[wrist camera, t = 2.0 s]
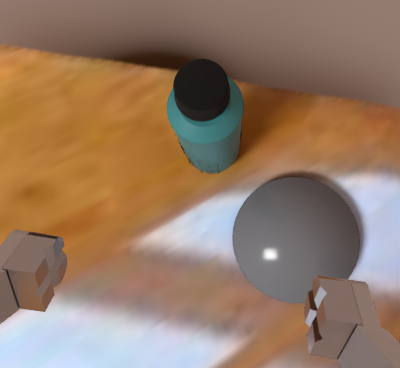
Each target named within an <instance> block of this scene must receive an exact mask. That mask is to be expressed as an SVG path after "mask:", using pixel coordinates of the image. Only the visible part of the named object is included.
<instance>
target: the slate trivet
mask: <svg viewBox="0 0 400 368" xmlns="http://www.w3.org/2000/svg"><path fill="white" fill-rule="evenodd" d="M359 246H360V239H359V231H358V227H357V223H356V220H355V218H354V215H353V213H352V212H351V210H350V208H349V207H348V205H347V204H346V202H345V201H344V200H343V199H342V198H341V197H340V196H339V195H338V194H337V193H336V192H335V191H333V190H332V189H330V188H329V187H327V186H326V185H324V184H322V183H320V182H317V181H314V180H311V179H307V178H301V177H286V178H281V179H277V180H274V181H271V182H269V183H266V184H264V185H263V186H261V187H259V188H258V189H257V190H255V191H254V192H253V193H252V194H251V195H250V196H249V197H248V198H247V199H246V200H245V202H244V203H243V205H242V206H241V208H240V210H239V212H238V214H237V217H236V220H235V223H234V228H233V248H234V253H235V256H236V260H237V262H238V264H239V266H240V268H241V270H242V272H243V273H244V275H245V276H246V278H247V279H248V280H249V281H250V282H251V283H252V284H253V285H254V286H255V287H256V288H257V289H259V290H260V291H261V292H263V293H264V294H266V295H268V296H270V297H272V298H274V299H277V300H279V301H284V302H288V303H305V300H306V297H307V294H308V292H309V291H311V290H313V288H312V281H313V279H314V277H315V276H316V275H319V276H326V277H333V278H340V279H348V278H349V276H350V275H351V273H352V271H353V269H354V267H355V265H356V262H357V259H358V254H359Z"/></svg>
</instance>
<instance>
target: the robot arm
mask: <svg viewBox="0 0 400 368" xmlns="http://www.w3.org/2000/svg"><path fill="white" fill-rule="evenodd" d="M63 247H64V242H63V238H61V237H58V236H52V235H46V234H41V233H35V232H28V231H22V230H14V231H12V232H11V233H10V234H9V236H8V237H7V238H6V239H5V241H4V242H3V243H2V244H1V246H0V324H1V323H2V322H3V321H5V320H6V319H7V318H9V317H10V316H11V315H13V314H14V313H15V312H17V311H18V310H19V309H18V308H20V309H28V310H35V311H43V312H45V311H46V309H47V307H48V305H49V303H50V302H51V300H52V298H53V296H54V290H53V288H54V287H55V286H57V285H58V284H60V283H61V281H62V279H63V277H64V275H65V271H66V268H67V257H66V254H65V253H64V252H63V251H62V248H63ZM312 288H313V290H311V291H309V292H308V294H307V297H306V300H305V307H304V315H305V322H306V323H307V324H308V326H309V327H310V328H309V331H308V333H307V340H308V348H309V355H314V356H320V357H325V358H330V359H335V360H337V362H338V363H339V365H340V366H341V368H400V343H399V342H398V341H397V340H396V339H395V338H394V337H393V336H392V335H391V334H390V333H389V332H388V331H387V330H386V329H381V326H380V323H379V319H378V316H377V313H376V310H375V306H374V303H373V300H372V297H371V294H370V290H369V287H368V285H367V284H366V282H360V281H354V280H347V279H340V278H333V277H326V276H319V275H316V276H315V277H314V279H313V281H312Z"/></svg>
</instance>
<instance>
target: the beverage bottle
mask: <svg viewBox="0 0 400 368" xmlns="http://www.w3.org/2000/svg"><path fill="white" fill-rule="evenodd" d="M243 110H244V102H243V97H242V94H241V91H240V89H239V88H238V86H237V85H236V83H235V82H234V81H233V80H232V79H230V78H229V77H228V76H227V75H226V73H225V71H224V70H223V69H222V67H221V66H219V65H218V64H217V63H215V62H213V61H210V60H207V59H197V60H193V61H190V62H189V63H187V64H185V65H184V66H183V67H182V68H181V69H180V70H179V71H178V73H177V74H176V76H175V79H174V84H173V89H172V91H171V92H170V95H169V97H168V101H167V115H168V119H169V122H170V124H171V126H172V128H173V129H174V130H175V132H176V134H177V136H178V139H179V141H180V143H181V145H182V146H181V147H182V149H183V151H184V153H186V154H187V156H188V158H189V159H188V160H189V162H190V163H192V164H193V165H194V166H195V168H197V169H199V170H201V171H203V172H207V174H208V173H216V174H217V172H218V173H219V172H221V171H224V170H225V169H227V168H229V167H230V166H231V165H232V164H233V163H234V161H235V160H236V158H237V156H238V154H239V152H240V150H239V146H240V141H241V140H240V139H241V134H242V133H241V124H242V123H241V121H242V116H243ZM175 136H176V135H175ZM180 143H179V144H180ZM240 147H241V146H240ZM194 166H193V167H194ZM199 170H198V171H199ZM201 171H200V172H201Z"/></svg>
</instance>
